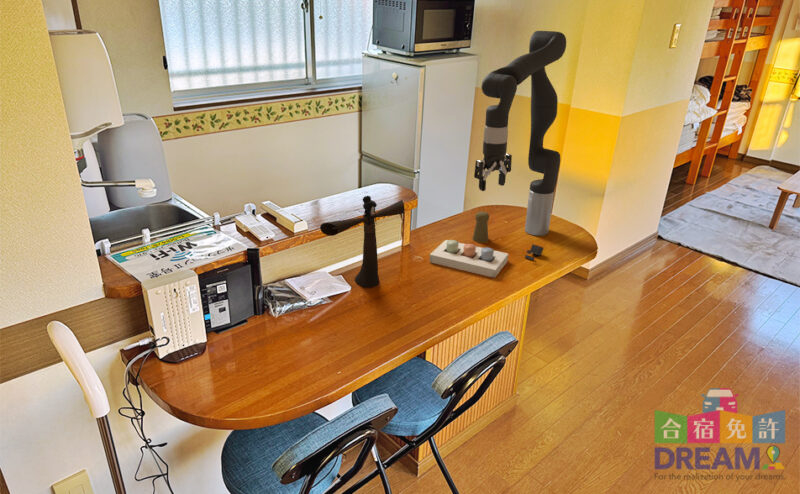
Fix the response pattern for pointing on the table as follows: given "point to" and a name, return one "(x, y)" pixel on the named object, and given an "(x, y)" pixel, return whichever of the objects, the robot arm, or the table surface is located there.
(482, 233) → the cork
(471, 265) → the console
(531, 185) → the robot arm
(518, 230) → the table surface
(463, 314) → the table surface
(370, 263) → the outstretched arms figurine
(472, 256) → the terracotta button
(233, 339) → the table surface
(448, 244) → the pale green rounded piece
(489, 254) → the slate button
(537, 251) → the building blocks
